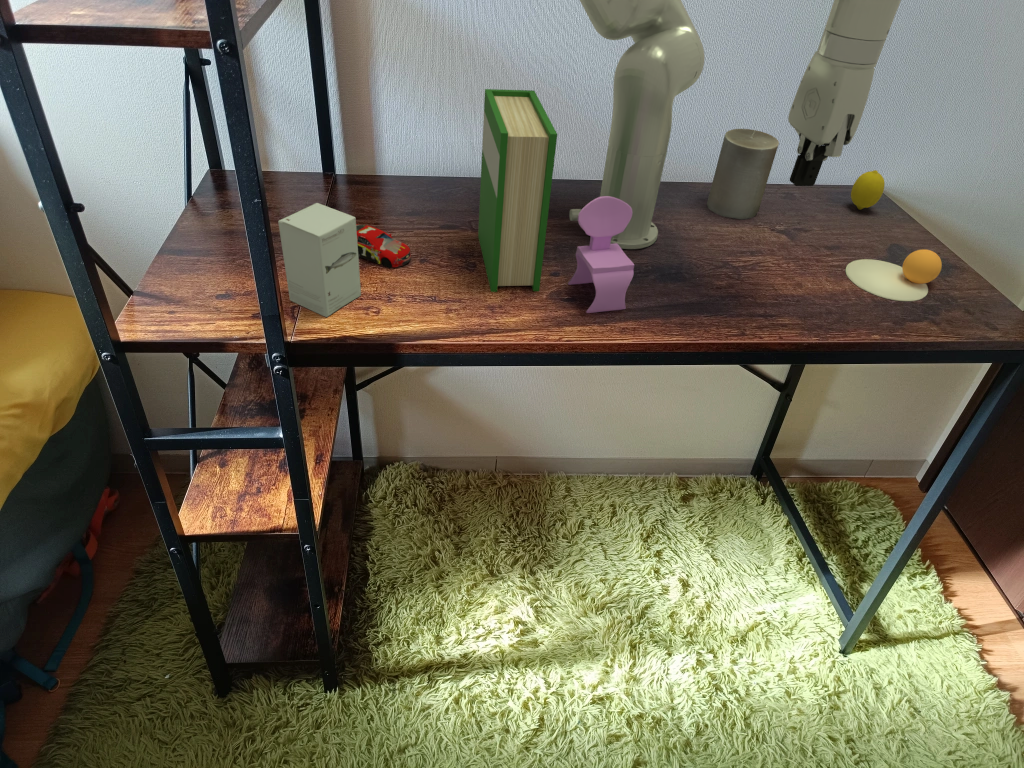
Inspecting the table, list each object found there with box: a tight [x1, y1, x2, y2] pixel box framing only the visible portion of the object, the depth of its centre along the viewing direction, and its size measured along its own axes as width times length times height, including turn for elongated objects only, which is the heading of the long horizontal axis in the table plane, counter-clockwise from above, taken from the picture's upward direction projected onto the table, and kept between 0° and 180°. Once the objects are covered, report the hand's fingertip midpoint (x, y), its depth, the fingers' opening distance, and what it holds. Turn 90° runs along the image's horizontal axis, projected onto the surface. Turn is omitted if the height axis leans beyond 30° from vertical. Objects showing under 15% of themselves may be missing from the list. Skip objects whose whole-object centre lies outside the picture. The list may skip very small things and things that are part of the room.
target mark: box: [845, 258, 929, 302], centre depth 116 cm, size 13×13×1 cm
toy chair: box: [567, 196, 635, 314], centre depth 101 cm, size 8×9×15 cm
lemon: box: [850, 169, 886, 211], centre depth 135 cm, size 6×6×8 cm
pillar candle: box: [706, 128, 780, 220], centre depth 129 cm, size 10×10×15 cm
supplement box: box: [277, 202, 362, 318], centre depth 96 cm, size 7×7×13 cm
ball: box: [901, 249, 943, 284], centre depth 115 cm, size 6×6×6 cm
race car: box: [356, 223, 412, 269], centre depth 110 cm, size 13×5×4 cm, turn 61°
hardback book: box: [477, 88, 558, 293], centre depth 104 cm, size 18×7×24 cm, turn 9°
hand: (801, 183), depth 101 cm, fingers closed
